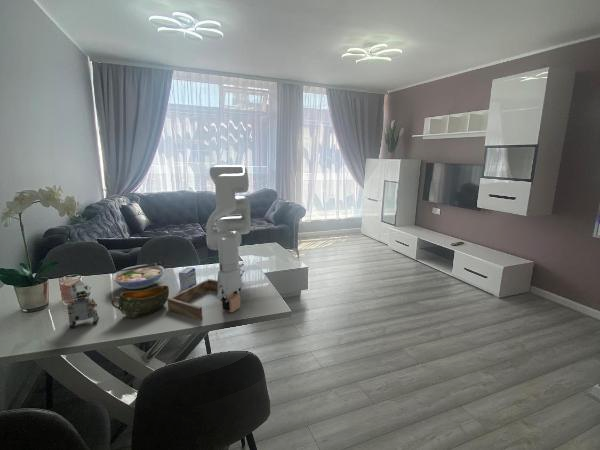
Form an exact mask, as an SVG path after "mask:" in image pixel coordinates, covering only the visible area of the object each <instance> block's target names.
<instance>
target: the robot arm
mask: <svg viewBox="0 0 600 450" xmlns="http://www.w3.org/2000/svg"><path fill="white" fill-rule="evenodd" d="M209 177H210V178H211V181H213V184H214V186H215V187H214V188H215V205H216V206H215V210H213V212H212V213H211V214H210V216H209V217H208V220H207V222H206V227H205V230H206V231H205V233H206V237H205V238H206V239H205V240H206V245H207V248H208V249H209V250H212V251H218V261H219V262H218V264H219V265H218V266H219V270H218V273H217V279H216V280H217V291H218V292H217V291H216V292H217V295H216V298H217V299H218V300H220V301H222V304H223V310H222V311H225V310H226V312H229V310H230V307H229V302H228V299H229V295H230V294H231V293H235V294H239V295H240V296H241V293H240V292H241V289H242V287H243V284H244V283H243V282H242V278H241V276H242V275H243V270H242V269H241V268H243V267H244V266H245V263H244V262H241V263H240V262H239V261H240V259H239V257H240V256H239V247H240V245H241V244H242V235H247V234H250V232H251V229H252V219H251V204H250V203H251V202H250V200H249V197H247V196H243V195H240V196H239V195H238V196H236V193H237V194H242V193H247V192H248V190H249V187H250V186H249V185H250V182H249V180H250V179H249V174H248V169H247V167H246V166H245V165H241V164H232V165H230V164H223V165H222V164H218V165H213V166H211V167H210V168H209ZM215 223H216V230H217V231H214V225H215ZM224 296H226V299H225V298H224Z"/></svg>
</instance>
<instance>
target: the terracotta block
mask: <svg viewBox="0 0 600 450" xmlns="http://www.w3.org/2000/svg"><path fill="white" fill-rule="evenodd" d="M224 298H225V299H226V296H224ZM220 301H221V300H220ZM228 302H229V307H230V310H229V311H228V312H229V313H234V312H235V311H237V310H238V309H239V308H241V307H242V306H241V294H240V295H239V294H235V293H231V294H230V295H229V299H228ZM220 303H221V305H220V306H221V310H222V311H226V310H223V304H222V301H221V302H220ZM226 312H227V311H226Z"/></svg>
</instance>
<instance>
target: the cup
mask: <svg viewBox="0 0 600 450" xmlns="http://www.w3.org/2000/svg"><path fill="white" fill-rule="evenodd" d="M169 293H170V288H169V285H159V286H154V287H151V288H147V289H146V288H145V289H139V290H130V291H129V290H128V291H123V292H120V295H119V296H115V297H112V298H111V301H110V304H111V306H113V307H114V308H115V309H117V310H118V311H120V312H121V313H122V315H125V316H126V317H127V318H129V319H138V318H139V319H140V318H143V317H145V316H149V315H151V314H154V313H157V312H158V311H160V310H162V309H163V308H164V306H165V305H166V303H167V299H168V298H169V295H170V294H169ZM116 300H118V306H117V305H116V304H115V302H116Z"/></svg>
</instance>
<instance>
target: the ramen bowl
mask: <svg viewBox="0 0 600 450" xmlns="http://www.w3.org/2000/svg"><path fill="white" fill-rule="evenodd" d="M161 265H162V266H161ZM163 265H165V261H160V262H155V263H151V264H140V265H139V264H138V265H134V266H129V267H126V268H123V269H119V270H115V271H109V272H108V273H109V274H112V273H114V274H112V276H111V278H112V279H113V280H114V281H115V283H117V285H119V286H120V287H122V288H125V289H129V290H130V289H131V290H144V289H146V288H148V287H150V286H152V285H154V284H155V283H156V282H158V281H159V280H160V279H161V278H162V275H163V274H164V272H165V268H164V267H163Z"/></svg>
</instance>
